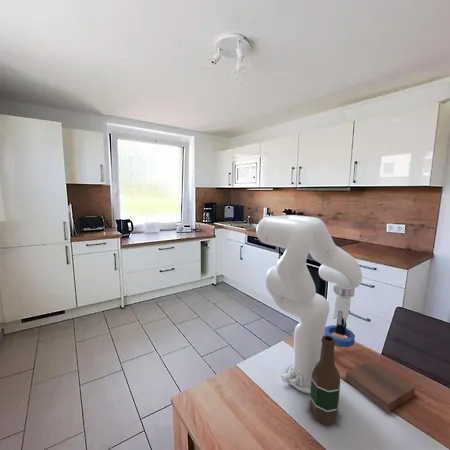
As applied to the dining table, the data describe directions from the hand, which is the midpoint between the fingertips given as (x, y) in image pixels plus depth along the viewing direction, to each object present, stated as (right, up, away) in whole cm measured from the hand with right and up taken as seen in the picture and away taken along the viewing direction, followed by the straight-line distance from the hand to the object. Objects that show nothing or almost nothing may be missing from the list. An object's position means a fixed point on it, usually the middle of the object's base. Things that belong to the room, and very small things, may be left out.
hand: (340, 332), depth 99 cm
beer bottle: (-18, -12, -28) cm, 35 cm away
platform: (+4, -10, -18) cm, 21 cm away
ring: (-2, -1, -4) cm, 4 cm away
